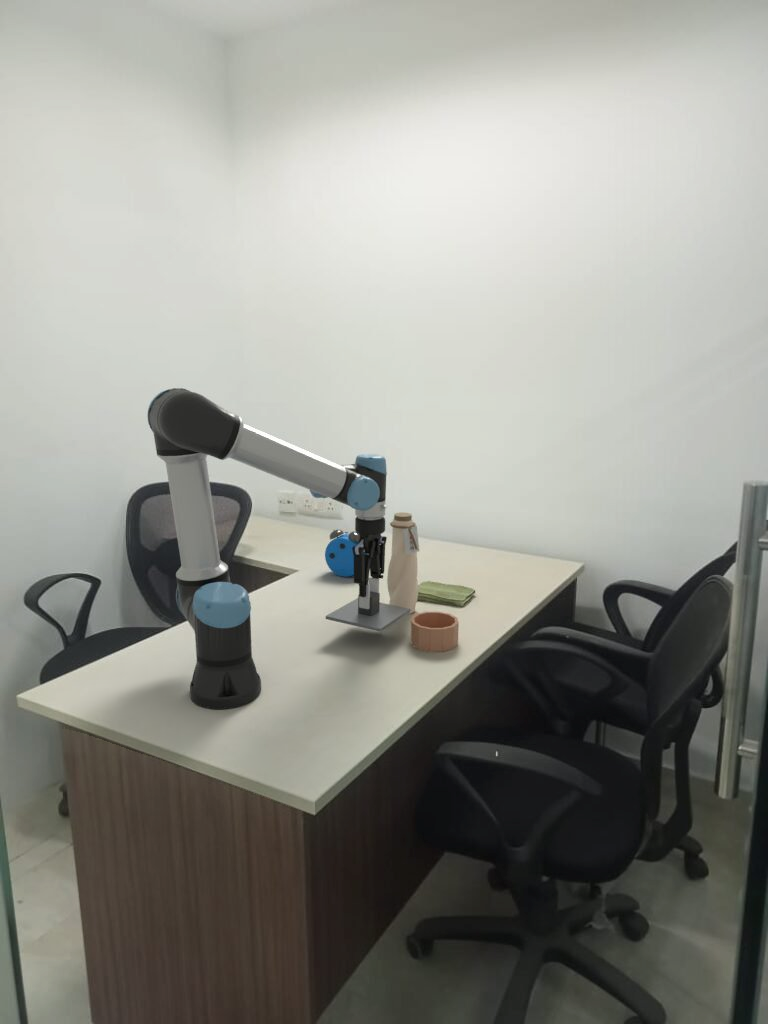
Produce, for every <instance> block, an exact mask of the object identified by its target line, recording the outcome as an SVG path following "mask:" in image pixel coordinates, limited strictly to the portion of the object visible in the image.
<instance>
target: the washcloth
mask: <svg viewBox="0 0 768 1024" xmlns="http://www.w3.org/2000/svg"><path fill="white" fill-rule="evenodd" d="M475 594H476V589H474V588H472V587H468V586H464V585H461V584H460V585H458V584H449V583H447V584H446V583H442V582H438V581H436V582H435V581H432V580H431V581H430V580H426V581H422V582H420V583H419V584H418V598H417V601H419V600H420V601H419V602H424V603H425V602H426V603H433V604H439V605H440V604H441V605H449V606H455V607H463V606H464V604H465V603H466V602H467V601H469V600H470V599H471V598H472V597H473V596H474V595H475Z"/></svg>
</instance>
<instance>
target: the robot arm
mask: <svg viewBox="0 0 768 1024" xmlns="http://www.w3.org/2000/svg"><path fill="white" fill-rule="evenodd" d="M147 424H148V425H149V428H150V429H151V432H152V433H153V439H154V446H155V450H156V456H157V457H158V458H159V459H160V460H162V461H163V462H165V466H166V467H165V468H166V474H167V480H168V486H169V493H170V499H171V506H172V512H173V519H174V526H175V533H176V539H177V545H178V550H179V557H180V564H181V566H180V567H179V568H178V570H177V571H176V573H175V577H176V584H177V586H176V591H175V600H176V601H175V602H176V605H177V608H178V609H179V611H180V613H181V615H182V616H183V617H185V620H186V621H188V624H189V625H190V627H191V628H192V629H193V631H194V636H195V654H196V662H195V663H196V664H195V667H194V670H193V674H192V678H191V681H190V683H189V684H190V685H189V695H190V700H191V701H192V702H193V703H194V704H195V705H197V706H199V707H202V708H204V709H205V708H206V709H210V710H211V709H213V710H214V709H215V710H224V709H225V710H226V709H233V708H237V707H241V706H245V705H247V704H248V703H251V702H253V701H254V700H256V699H257V698H258V697H259V695H260V694H261V692H262V680H261V677H260V674H259V673H258V671H257V667H256V663H255V662H254V659H253V653H252V628H251V627H252V626H251V625H252V624H251V620H252V619H251V610H252V606H251V605H252V604H251V601H250V595H249V592H248V591H247V590H246V589H245V588H244V587H243V586H241V585H240V584H238V583H232V582H231V578H230V570H229V566H228V565H229V564H227V563H225V562H224V561H222V560H221V557H220V549H219V543H218V536H217V535H218V534H217V533H218V532H217V527H216V520H215V512H214V505H213V504H214V503H213V498H212V490H211V483H210V475H209V470H208V464H207V463H208V462H207V457H208V456H210V457H213V458H216V459H218V460H221V461H225V460H227V459H232V460H234V461H237V462H240V463H242V464H244V465H246V466H249V467H252V468H255V469H256V470H259V471H262V472H263V473H264V472H265V473H267V474H269V475H271V476H274V477H277V478H279V479H282V480H285V481H286V482H288V483H289V482H290V483H292V484H293V485H297V486H298V487H302V488H304V489H306V490H309V492H310V495H311V496H312V497H314V498H316V499H317V498H318V499H326V498H330V499H332V500H334V501H336V502H339V503H342V504H343V505H346V506H348V507H350V508H351V509H354V514H355V516H356V517H355V519H354V521H355V522H354V529H355V530H354V531H355V532H357V533H359V535H360V537H359V544H358V545H357V546H353V548H352V550H353V555H354V575H353V583H354V584H358V595H359V607H360V608H364V609H370V591H371V592H376V593H380V579H382V580H383V579H384V574H385V561H386V543H387V539H388V537H387V536H385V535H382V534H384V533H385V531H386V517H385V515H386V509H387V506H386V498H387V497H386V493H387V475H388V473H387V459H386V458H385V456H384V455H381V454H376V453H364V454H358V455H357V456H356V457H355V461H354V463H352V464H340V465H339V464H338V463H335V462H332V461H331V460H329V459H326V458H324V457H322V456H319V455H316V454H315V453H312V452H310V451H307V450H305V449H303V448H301V447H299V446H296V445H294V444H291V443H290V442H288V441H285V440H282V439H280V438H278V437H275V436H274V435H271V434H268V433H266V432H265V431H261V430H259V429H258V428H254V427H253V426H250V425H248V424H245V423H244V422H243V420H242V418H241V416H240V415H237V414H235V413H233V412H231V411H229V410H227V409H225V408H224V407H222V406H220V405H218V404H217V403H215V402H213V401H212V400H211V399H209V398H207V397H205V396H204V395H202V394H201V393H200V394H199V393H197V392H194V391H190V390H188V389H186V388H182V387H181V388H175V387H174V388H169V389H166V390H163V391H160V392H159V393H158V394H156V395H155V396H154V398H153V399H152V400H151V402H150V403H149V406H148V409H147ZM364 553H365V554H364Z"/></svg>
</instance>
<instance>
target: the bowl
mask: <svg viewBox="0 0 768 1024" xmlns="http://www.w3.org/2000/svg"><path fill="white" fill-rule="evenodd" d="M459 625H460V624H459V619H458V617H456V616H455V615H452V614H451V613H448V612H444V611H424V612H419V613H416V614H414V615H413V616H412V617H410V644H411V646H412V647H414V646H415V647H414V648H416V649H418V650H419V651H425V652H428V651H429V652H428V653H443V652H442V651H444V652H447V651H446V650H448V651H451V650H450V649H452V650H454V649H455V648H456V647H457V646H458V645H459ZM453 648H454V649H453ZM433 651H434V652H433ZM438 651H439V652H438Z"/></svg>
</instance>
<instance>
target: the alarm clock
mask: <svg viewBox="0 0 768 1024" xmlns="http://www.w3.org/2000/svg"><path fill="white" fill-rule="evenodd" d="M344 533H345V534H344ZM359 537H360V535H359V533H357V532H356V531H355V530H354V531H351V532H348V531H343V530H342V529H333V531H332V532H330V534H329V539H330V542H329V543H328V544H327V545H326V548H325V551H324V559H325V564H326V565H327V566H328V569H330V570H331V572H333V573H334V574H335V575H337V576H339V577H343V578H346V577H347V578H348V577H352V576H354V555H353V550H352V548H353V546H357V545H358V544H359ZM364 554H365V553H364Z"/></svg>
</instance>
